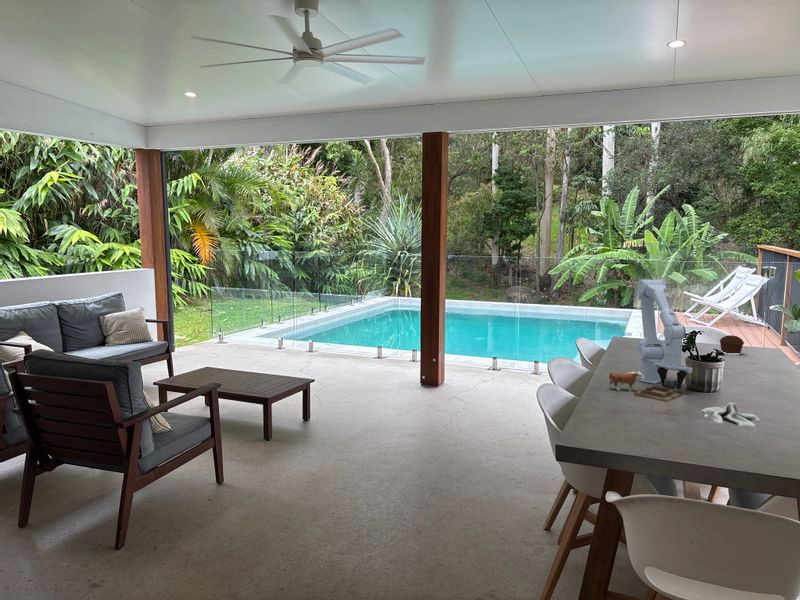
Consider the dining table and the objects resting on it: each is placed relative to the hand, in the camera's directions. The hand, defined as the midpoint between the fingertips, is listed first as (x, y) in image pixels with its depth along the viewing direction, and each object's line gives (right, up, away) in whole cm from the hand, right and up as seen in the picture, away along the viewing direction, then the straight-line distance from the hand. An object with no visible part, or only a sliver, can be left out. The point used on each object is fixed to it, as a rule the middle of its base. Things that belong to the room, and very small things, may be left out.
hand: (671, 387), depth 233 cm
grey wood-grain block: (0, -2, 0) cm, 2 cm away
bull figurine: (-18, -1, +1) cm, 18 cm away
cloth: (+3, -6, -36) cm, 36 cm away
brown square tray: (-9, -2, -7) cm, 11 cm away
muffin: (+69, +6, +78) cm, 104 cm away
